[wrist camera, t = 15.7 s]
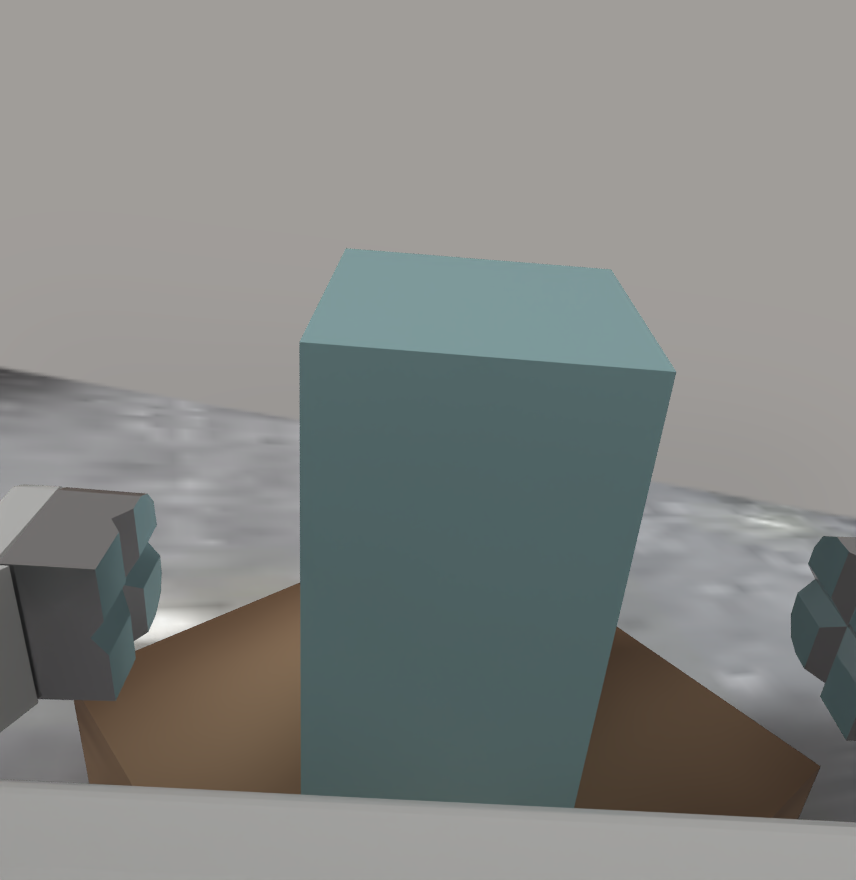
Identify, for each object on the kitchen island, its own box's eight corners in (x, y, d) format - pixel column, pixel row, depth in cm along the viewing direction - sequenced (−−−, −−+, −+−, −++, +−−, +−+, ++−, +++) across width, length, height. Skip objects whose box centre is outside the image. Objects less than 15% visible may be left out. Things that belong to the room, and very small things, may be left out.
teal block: (301, 836, 15) (300, 342, 10) (336, 652, 20) (346, 248, 15) (562, 856, 15) (675, 372, 11) (538, 668, 20) (611, 269, 15)
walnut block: (91, 796, 20) (69, 678, 18) (447, 615, 27) (457, 517, 25) (375, 1335, 12) (387, 1221, 10) (772, 880, 19) (820, 766, 17)
